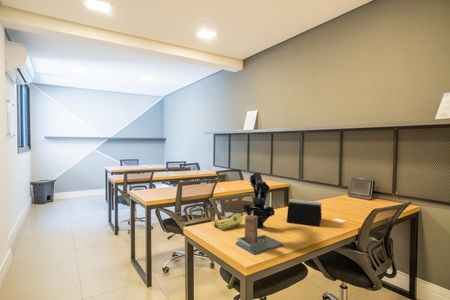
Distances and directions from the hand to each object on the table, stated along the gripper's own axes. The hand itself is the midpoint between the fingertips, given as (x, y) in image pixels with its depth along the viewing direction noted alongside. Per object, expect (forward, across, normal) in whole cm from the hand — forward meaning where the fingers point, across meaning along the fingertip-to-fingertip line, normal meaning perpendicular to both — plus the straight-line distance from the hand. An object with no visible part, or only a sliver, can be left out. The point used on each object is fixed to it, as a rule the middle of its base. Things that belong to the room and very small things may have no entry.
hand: (255, 221), depth 150 cm
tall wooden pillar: (+12, 0, +2) cm, 12 cm away
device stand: (-31, +19, +48) cm, 60 cm away
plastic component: (-4, -26, +20) cm, 33 cm away
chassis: (+11, +4, +5) cm, 13 cm away
